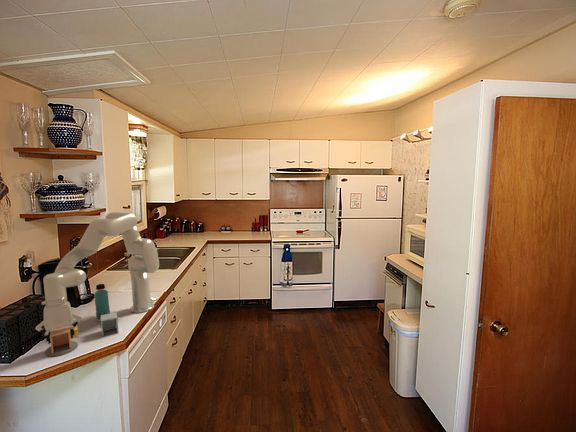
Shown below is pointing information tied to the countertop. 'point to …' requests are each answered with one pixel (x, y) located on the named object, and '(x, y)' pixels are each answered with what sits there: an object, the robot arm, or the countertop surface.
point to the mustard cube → (75, 332)
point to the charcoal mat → (61, 349)
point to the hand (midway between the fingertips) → (60, 339)
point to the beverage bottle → (101, 301)
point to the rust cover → (60, 337)
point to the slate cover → (109, 322)
